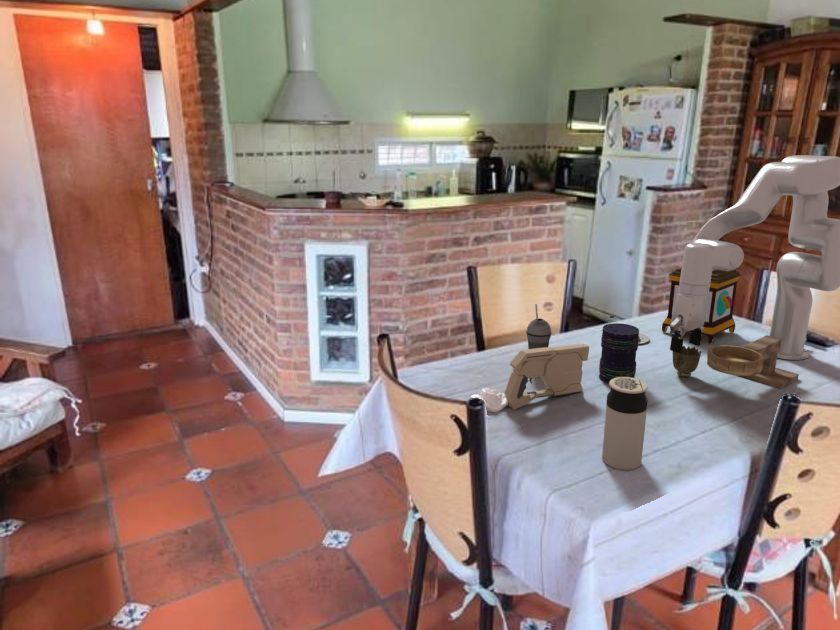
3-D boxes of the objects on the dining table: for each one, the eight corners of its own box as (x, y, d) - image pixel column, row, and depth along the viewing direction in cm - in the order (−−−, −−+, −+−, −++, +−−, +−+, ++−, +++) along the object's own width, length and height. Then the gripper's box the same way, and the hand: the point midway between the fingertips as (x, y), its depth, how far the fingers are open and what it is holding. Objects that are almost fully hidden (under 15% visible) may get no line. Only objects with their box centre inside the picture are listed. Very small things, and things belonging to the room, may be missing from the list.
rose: (467, 394, 149) (473, 379, 158) (467, 410, 150) (473, 394, 159) (507, 398, 146) (510, 382, 155) (506, 414, 148) (510, 397, 157)
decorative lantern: (684, 320, 215) (693, 239, 206) (740, 333, 201) (753, 246, 192) (655, 332, 203) (664, 246, 194) (712, 347, 189) (725, 255, 180)
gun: (509, 411, 149) (515, 355, 145) (502, 406, 151) (508, 351, 148) (583, 398, 160) (590, 346, 156) (575, 393, 162) (582, 342, 159)
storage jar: (640, 377, 167) (646, 317, 162) (625, 388, 160) (631, 326, 155) (607, 369, 173) (612, 310, 168) (592, 379, 167) (596, 319, 161)
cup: (702, 381, 164) (706, 354, 161) (675, 381, 164) (679, 354, 162) (691, 370, 171) (694, 345, 168) (665, 371, 171) (668, 345, 169)
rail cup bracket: (746, 364, 174) (752, 327, 171) (797, 379, 164) (805, 340, 160) (691, 391, 157) (696, 351, 154) (744, 410, 147) (751, 367, 143)
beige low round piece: (616, 332, 205) (617, 320, 204) (652, 337, 199) (653, 325, 198) (607, 343, 196) (608, 329, 194) (645, 349, 190) (646, 335, 188)
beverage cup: (544, 375, 170) (547, 309, 164) (521, 370, 174) (523, 306, 168) (553, 367, 176) (556, 303, 170) (530, 362, 179) (532, 299, 173)
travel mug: (600, 467, 124) (606, 389, 118) (603, 448, 131) (609, 374, 125) (640, 474, 121) (649, 394, 115) (641, 454, 128) (649, 378, 122)
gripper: (697, 281, 167) (689, 338, 172) (663, 290, 157) (655, 350, 162) (723, 287, 162) (714, 345, 167) (689, 296, 152) (680, 358, 157)
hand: (685, 348), depth 165 cm, fingers open, 9 cm apart
